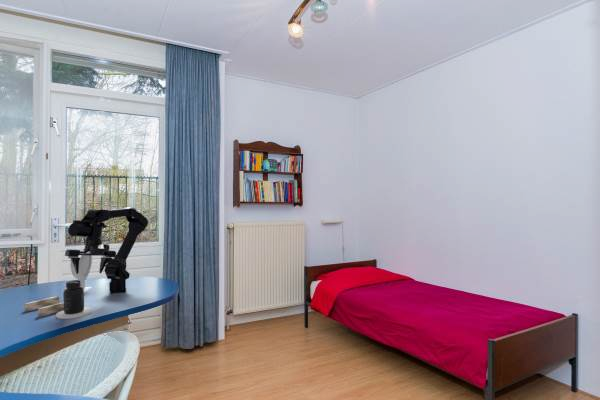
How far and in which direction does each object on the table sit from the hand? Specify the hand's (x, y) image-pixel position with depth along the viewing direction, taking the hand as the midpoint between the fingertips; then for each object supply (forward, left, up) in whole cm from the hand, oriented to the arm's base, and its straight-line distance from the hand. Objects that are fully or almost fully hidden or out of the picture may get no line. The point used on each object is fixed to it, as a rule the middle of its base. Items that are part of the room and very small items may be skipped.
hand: (88, 273), depth 154 cm
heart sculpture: (+5, -20, -12) cm, 24 cm away
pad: (+3, +15, -12) cm, 20 cm away
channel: (+13, +6, -12) cm, 19 cm away
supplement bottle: (+3, +15, -12) cm, 19 cm away
